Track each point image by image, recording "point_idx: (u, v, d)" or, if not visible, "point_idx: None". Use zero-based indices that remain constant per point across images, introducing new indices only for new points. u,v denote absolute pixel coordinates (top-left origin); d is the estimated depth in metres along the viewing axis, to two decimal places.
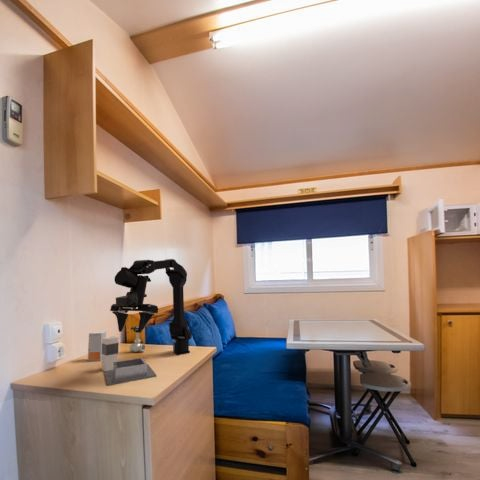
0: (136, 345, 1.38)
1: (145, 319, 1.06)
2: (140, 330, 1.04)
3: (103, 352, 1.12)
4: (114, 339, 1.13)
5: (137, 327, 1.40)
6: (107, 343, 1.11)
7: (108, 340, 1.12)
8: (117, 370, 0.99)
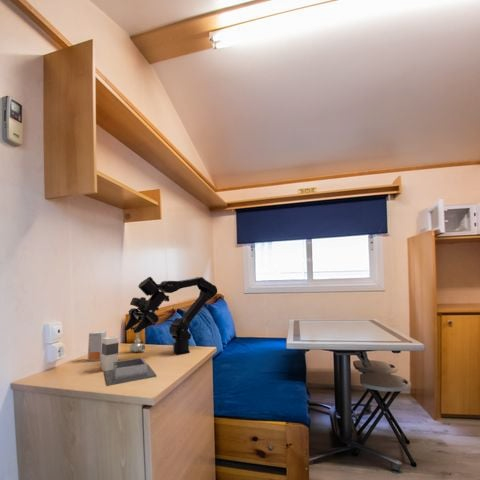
0: (136, 345, 1.38)
1: (144, 324, 1.19)
2: (135, 331, 1.17)
3: (103, 352, 1.12)
4: (114, 339, 1.13)
5: None
6: (107, 343, 1.11)
7: (108, 340, 1.12)
8: (117, 370, 0.99)
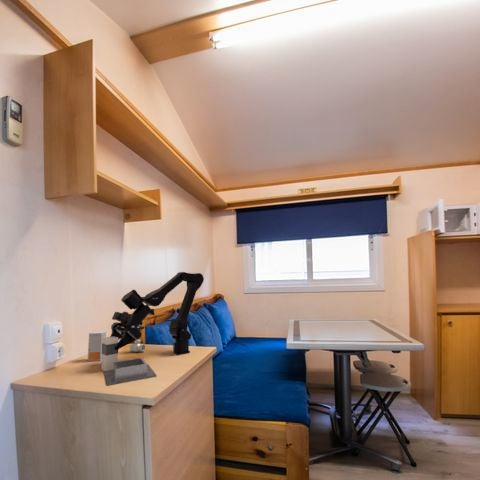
0: (136, 345, 1.38)
1: (126, 340, 1.13)
2: (116, 347, 1.11)
3: (103, 352, 1.12)
4: (114, 339, 1.13)
5: (137, 327, 1.40)
6: (107, 343, 1.11)
7: (108, 340, 1.12)
8: (117, 370, 0.99)
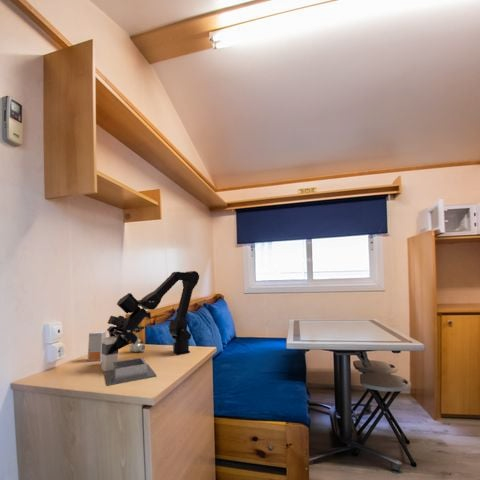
0: (136, 345, 1.38)
1: (119, 344, 1.13)
2: (110, 351, 1.11)
3: (103, 352, 1.12)
4: (114, 339, 1.13)
5: None
6: (107, 343, 1.11)
7: (108, 340, 1.12)
8: (117, 370, 0.99)
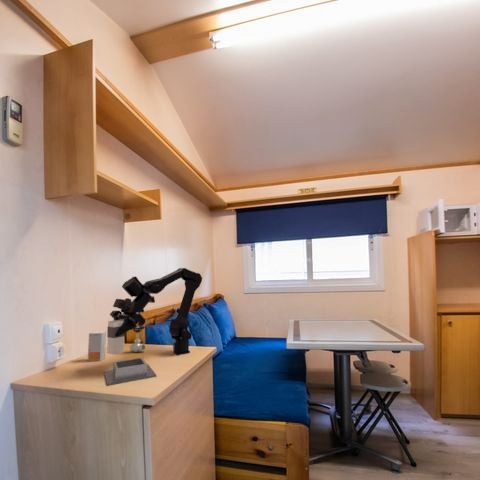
0: (136, 345, 1.38)
1: (127, 327, 1.12)
2: (117, 334, 1.09)
3: (110, 335, 1.10)
4: (121, 322, 1.11)
5: (137, 327, 1.40)
6: (114, 326, 1.09)
7: (115, 323, 1.10)
8: (117, 370, 0.99)
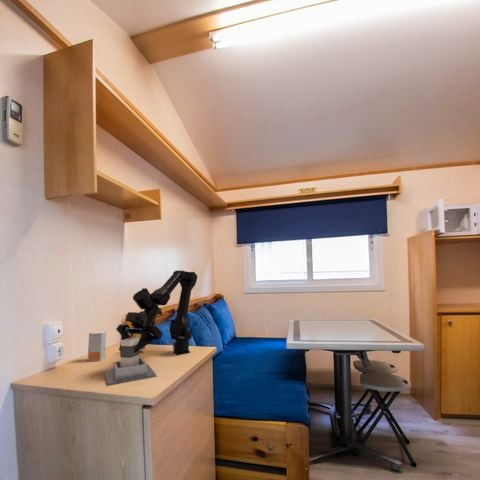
0: None
1: (144, 341, 1.07)
2: (136, 350, 1.04)
3: (124, 355, 1.04)
4: (136, 340, 1.07)
5: None
6: (131, 344, 1.04)
7: (131, 341, 1.05)
8: (117, 370, 0.99)
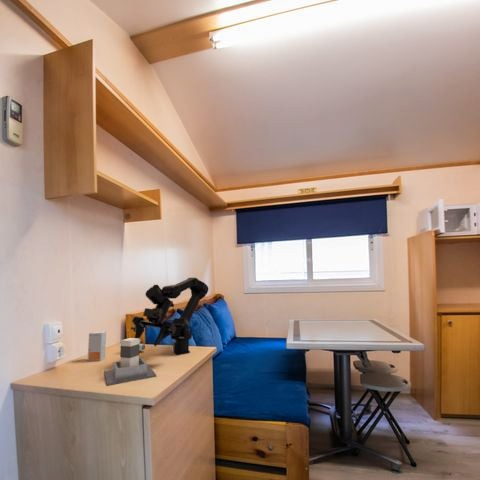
0: None
1: (162, 335, 1.17)
2: (156, 344, 1.14)
3: (124, 355, 1.04)
4: (136, 340, 1.07)
5: None
6: (131, 345, 1.04)
7: (131, 341, 1.04)
8: (117, 370, 0.99)
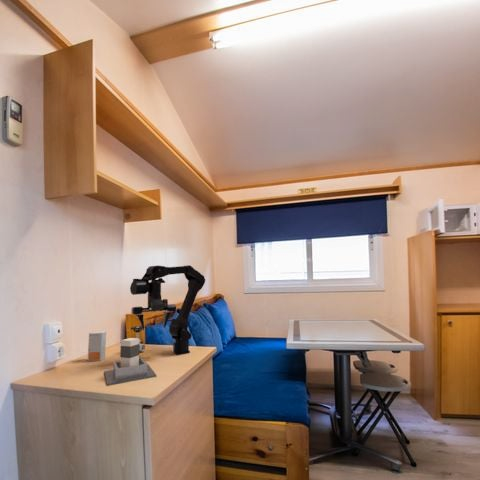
0: None
1: None
2: None
3: (124, 355, 1.04)
4: (136, 340, 1.07)
5: (137, 327, 1.40)
6: (131, 345, 1.04)
7: (131, 341, 1.04)
8: (117, 370, 0.99)
